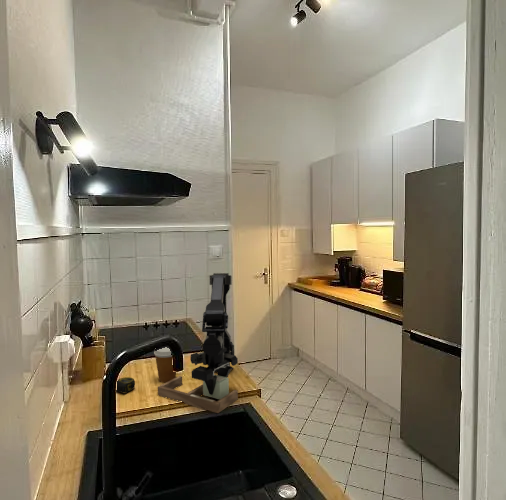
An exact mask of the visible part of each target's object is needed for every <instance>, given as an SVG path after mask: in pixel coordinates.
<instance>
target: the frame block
mask: <svg viewBox="0 0 506 500" xmlns="http://www.w3.org/2000/svg"><path fill="white" fill-rule="evenodd" d="M214 375H215V376H217V380H216V384H215V388H214V392H213V394H212V395H211V394H209V391H208V389H207V386H206V383H205V381H202V384H203V395H202V396H205V397H210V398H211V399H212V398H213V399H217V400H220V399H222V398H223V397H225V396H226V395H228V394H229V393H230V392H229V391H230V390H229V388H230V386H229V384H230V383H229V382H230V381H229V379H230V378H229V377H223V376H218V374H214Z"/></svg>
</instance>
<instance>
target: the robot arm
mask: <svg viewBox="0 0 506 500" xmlns="http://www.w3.org/2000/svg"><path fill="white" fill-rule="evenodd" d="M229 274H230V273H227V272H224V273H221V272H213V274H211V275H209V286H211V295H210V302H209V303H207V305H206V306H205V311H203V313H202V326H201V327H202V328H201V332H202V333H206V336H205V338H204V341H203V342H202V350H203V351H202V352H199V353H198V352H194V353H191V354H190V359H189V360H190V363H191V364H193V365H194V366H197V365H199V364H202V365H203V366H202V365H200V366H197V367H195V368H194V369H192V370H191V378H192V379H194V380H198V381H201V382H203V381H205V383H206V386H207V389H208V391H209V394H211V395H212V394H213V392H214V388H215V384H216V380H217V376H215V375H216V374H215V373H217V375H218V376H223V377H227V378H229V377H228V376H229V375H230V373H231V371H232V370H233V369H234V366H236V365H237V364H238V361H239V360H238V357H237V355H235V345H234V343H233V341H232V340H231V338H232V337H231V334H230V333H229V332H228V327H229V314H228V311H227V310H228V309H227V295H228V293H229V291H230V289H231V285H233V284H232V283H233V282H232V281H233V280H232V279H233V277H232V275H229ZM231 369H232V370H231Z"/></svg>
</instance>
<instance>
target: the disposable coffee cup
mask: <svg viewBox="0 0 506 500" xmlns="http://www.w3.org/2000/svg"><path fill="white" fill-rule="evenodd" d="M153 354H154V356H155V364H156V369H157V376H158V381H159V382H161V383H166V382H168V381H170V380H172V379H174V378H176V377H177V371H176V372H173V365H172V355H171V351H170V349H169V348H167V347H165V348H162V349H159V350H157V351H155V350H154V352H153Z"/></svg>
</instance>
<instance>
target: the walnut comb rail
mask: <svg viewBox="0 0 506 500" xmlns="http://www.w3.org/2000/svg"><path fill="white" fill-rule="evenodd" d="M182 385H183V376H182V375H179V376H176V378H174V379H172V380H170V381H168V382H163V383H162V384H160V385H158V386H157V396H158V395H159V396H158V397H162V398H165V397H167V398H166V399H168V398H170V399H169V400H172V399H174V400H173V401H175V400H178V401H182V402H184V403H183V404H186V405H189V406H192V407H195V408H199V409H202V410H205V411H208V412H212V413H214V414H215V413H216V414H219V413H220V412H222V411H223V410H225V409H226V408H228V407H229V406H231V405H232V404H234V403H235V402H236V401H237V400H238V398H239V397H238V396H239V391H238V390H236V389H233V390H232V391H231V392H229V394H228V395H226V396H225V397H223V398H222V399H218V400H217V401H216V400H214V399H212V398H211V399H210V398H208V397H203V396H204V395H203V383H202V384H201V385H200V386H199V385H198V386H197V387H195V388H194V389H191V390H190V391H188V392H185V391H180V390H178V389H176V387H177V388H178V386H179V387H180V386H182ZM201 395H202V396H201ZM200 396H201V397H200ZM178 401H177V402H178ZM182 402H181V403H182Z"/></svg>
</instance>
